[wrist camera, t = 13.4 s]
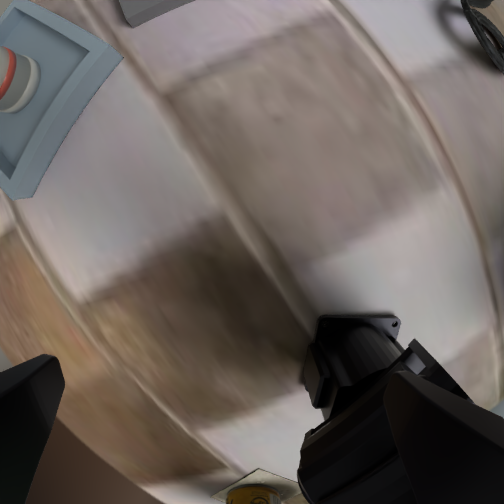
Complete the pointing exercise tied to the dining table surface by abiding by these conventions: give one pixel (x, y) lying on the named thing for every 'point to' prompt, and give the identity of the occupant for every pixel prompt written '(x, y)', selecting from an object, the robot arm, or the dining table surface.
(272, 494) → the condiment
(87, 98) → the tray
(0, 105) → the cylinder
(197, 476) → the dining table surface
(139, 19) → the fuse holder
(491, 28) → the milk frother
